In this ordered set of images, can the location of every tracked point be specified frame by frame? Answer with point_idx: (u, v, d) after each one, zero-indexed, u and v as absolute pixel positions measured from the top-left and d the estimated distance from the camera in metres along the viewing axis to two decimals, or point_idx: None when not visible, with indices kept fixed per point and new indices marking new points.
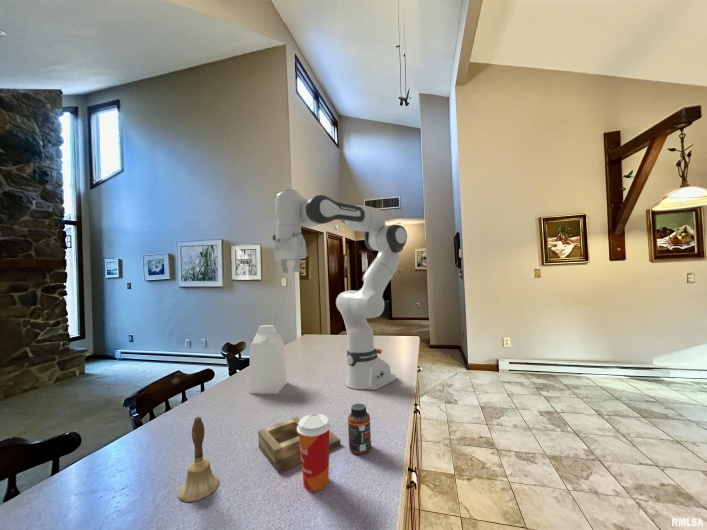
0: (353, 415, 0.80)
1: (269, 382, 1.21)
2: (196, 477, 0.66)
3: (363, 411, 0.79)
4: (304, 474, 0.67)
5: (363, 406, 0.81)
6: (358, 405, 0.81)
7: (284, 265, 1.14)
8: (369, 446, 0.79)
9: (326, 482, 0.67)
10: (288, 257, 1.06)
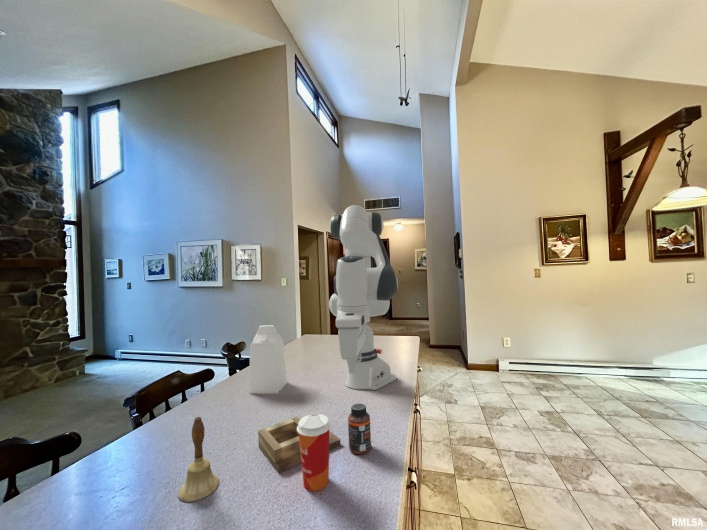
0: (353, 415, 0.80)
1: (269, 382, 1.21)
2: (196, 477, 0.66)
3: (363, 411, 0.79)
4: (304, 474, 0.67)
5: (363, 406, 0.81)
6: (358, 405, 0.81)
7: None
8: (369, 446, 0.79)
9: (326, 482, 0.67)
10: (362, 344, 0.84)
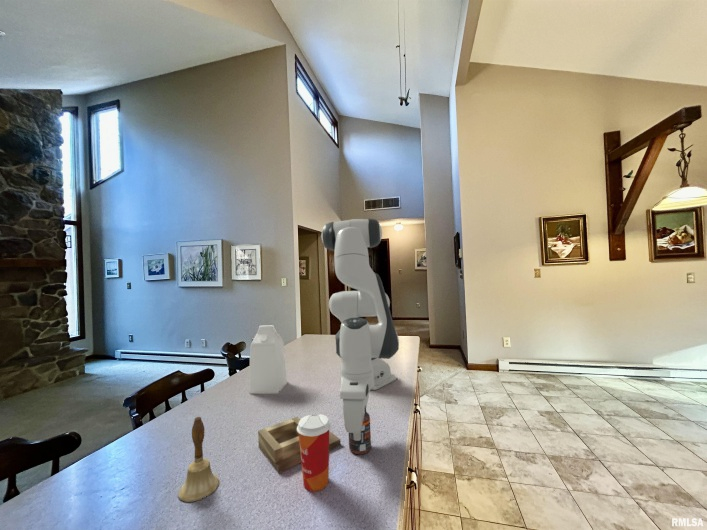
0: None
1: (269, 382, 1.21)
2: (196, 477, 0.66)
3: None
4: (304, 474, 0.67)
5: None
6: None
7: None
8: (369, 446, 0.79)
9: (326, 482, 0.67)
10: (366, 406, 0.83)
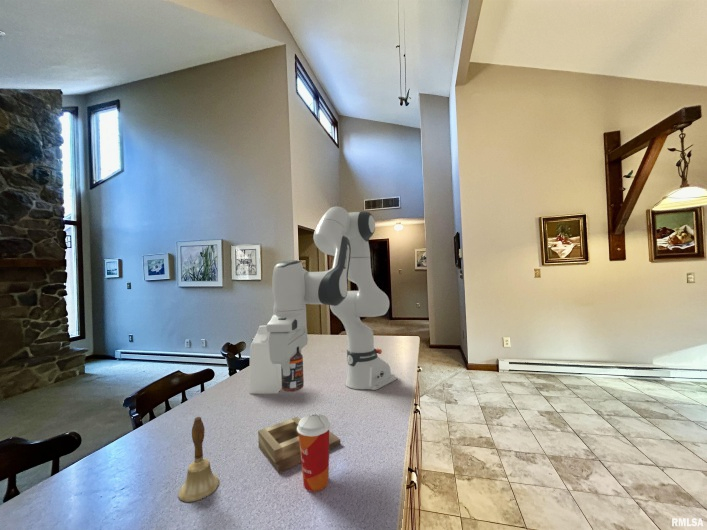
0: None
1: (269, 382, 1.21)
2: (196, 477, 0.66)
3: None
4: (304, 474, 0.67)
5: None
6: None
7: None
8: (300, 384, 0.81)
9: (326, 482, 0.67)
10: (300, 347, 0.85)
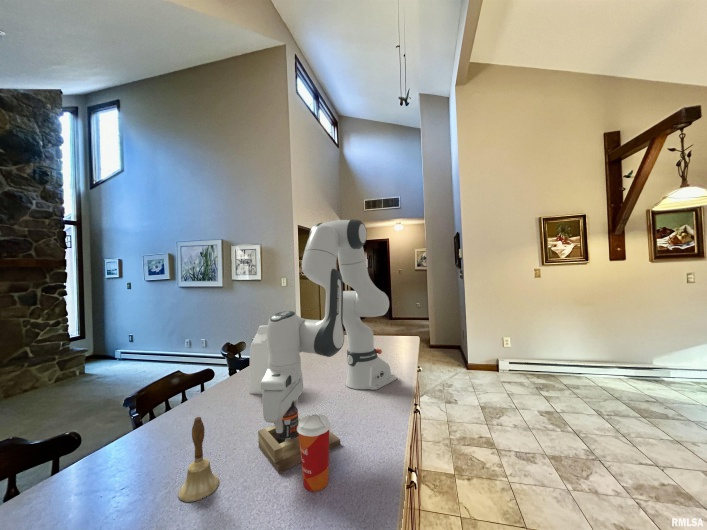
0: None
1: None
2: (196, 477, 0.66)
3: None
4: (304, 474, 0.67)
5: None
6: None
7: None
8: None
9: (326, 482, 0.67)
10: (295, 398, 0.85)
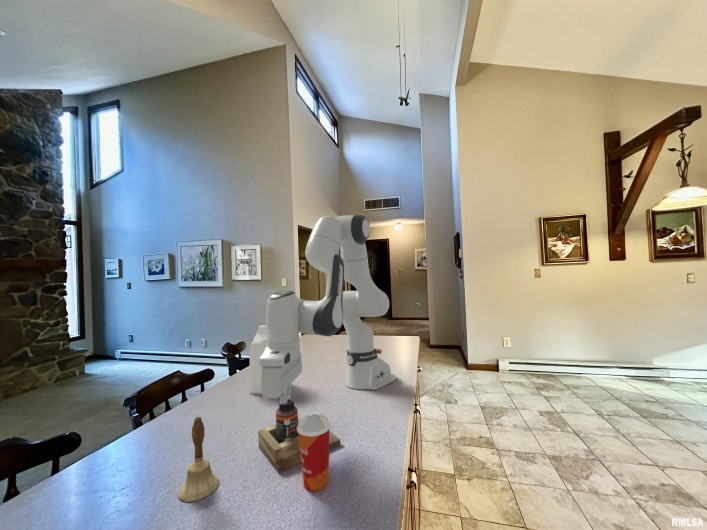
0: (279, 409, 0.81)
1: None
2: (196, 477, 0.66)
3: (289, 406, 0.81)
4: (304, 474, 0.67)
5: (291, 401, 0.82)
6: None
7: None
8: None
9: (326, 482, 0.67)
10: (294, 378, 0.85)
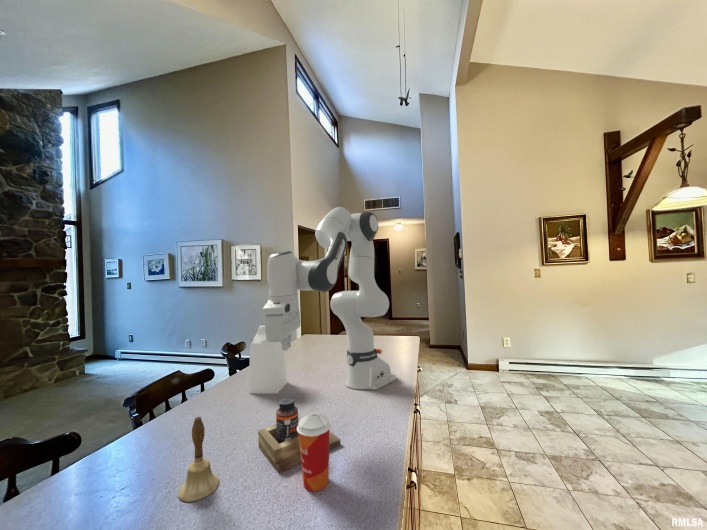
0: (280, 409, 0.81)
1: (269, 382, 1.21)
2: (196, 477, 0.66)
3: (290, 405, 0.81)
4: (304, 474, 0.67)
5: (291, 401, 0.83)
6: (286, 400, 0.83)
7: None
8: None
9: (326, 482, 0.67)
10: (294, 329, 0.95)
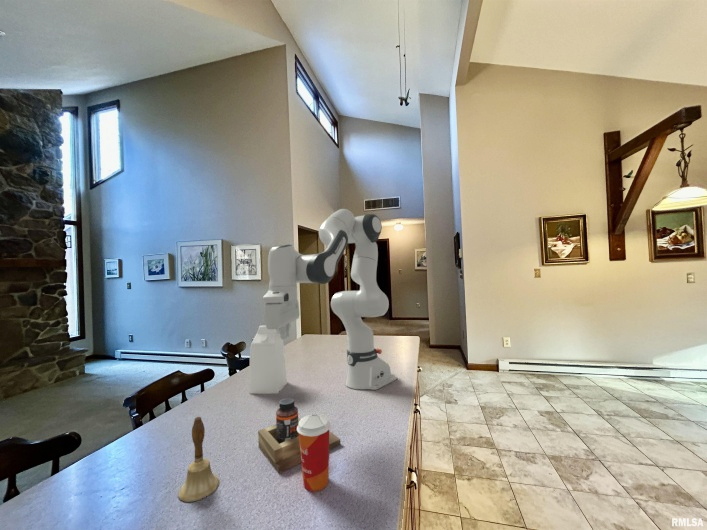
0: (280, 409, 0.81)
1: (269, 382, 1.21)
2: (196, 477, 0.66)
3: (290, 405, 0.81)
4: (304, 474, 0.67)
5: (291, 401, 0.83)
6: (286, 400, 0.83)
7: None
8: None
9: (326, 482, 0.67)
10: (292, 319, 0.99)
